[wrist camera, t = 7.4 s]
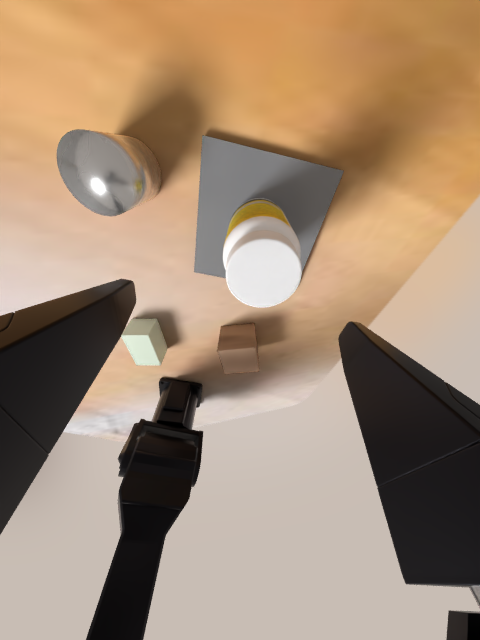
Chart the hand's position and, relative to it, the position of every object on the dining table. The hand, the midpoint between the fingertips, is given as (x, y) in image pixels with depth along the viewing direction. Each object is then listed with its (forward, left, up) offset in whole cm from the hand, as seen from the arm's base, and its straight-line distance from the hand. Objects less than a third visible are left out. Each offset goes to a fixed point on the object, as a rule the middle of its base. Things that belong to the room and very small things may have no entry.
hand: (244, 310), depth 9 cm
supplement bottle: (0, -1, -12) cm, 12 cm away
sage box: (-15, +9, -12) cm, 21 cm away
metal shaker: (+2, +9, -12) cm, 15 cm away
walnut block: (-13, -2, -12) cm, 18 cm away
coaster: (0, -1, -12) cm, 12 cm away
